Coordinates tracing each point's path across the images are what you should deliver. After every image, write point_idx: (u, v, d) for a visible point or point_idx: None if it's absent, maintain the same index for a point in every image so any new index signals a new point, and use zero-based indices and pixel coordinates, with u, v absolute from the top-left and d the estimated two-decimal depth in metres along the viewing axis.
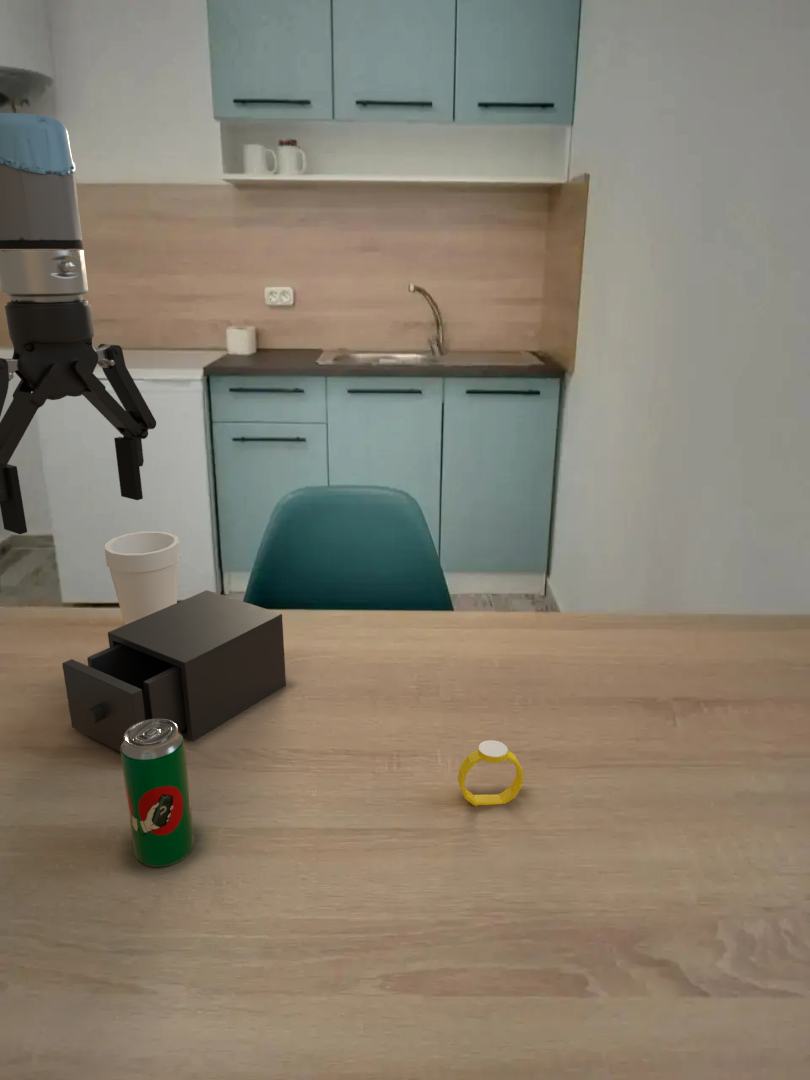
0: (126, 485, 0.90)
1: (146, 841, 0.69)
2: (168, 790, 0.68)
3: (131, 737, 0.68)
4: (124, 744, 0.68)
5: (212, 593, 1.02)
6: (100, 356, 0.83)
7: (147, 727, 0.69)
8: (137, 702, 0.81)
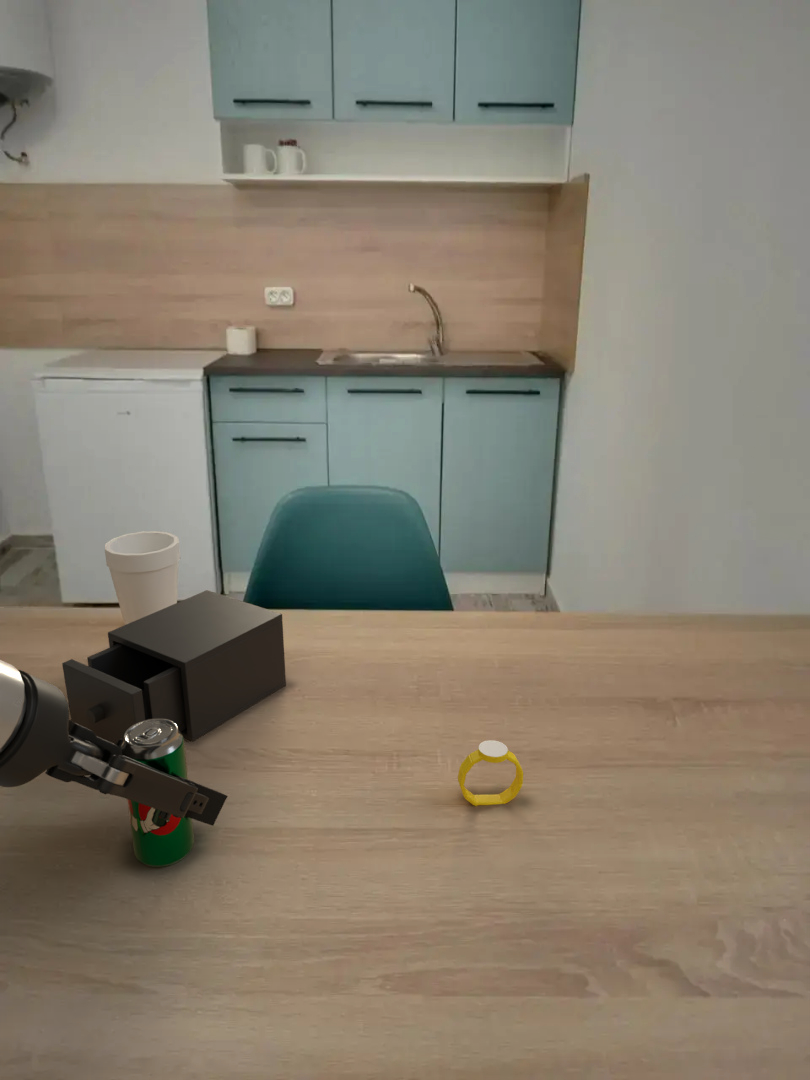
0: None
1: (146, 841, 0.69)
2: None
3: (131, 737, 0.68)
4: (124, 744, 0.68)
5: (212, 593, 1.02)
6: None
7: (147, 727, 0.69)
8: (137, 702, 0.81)
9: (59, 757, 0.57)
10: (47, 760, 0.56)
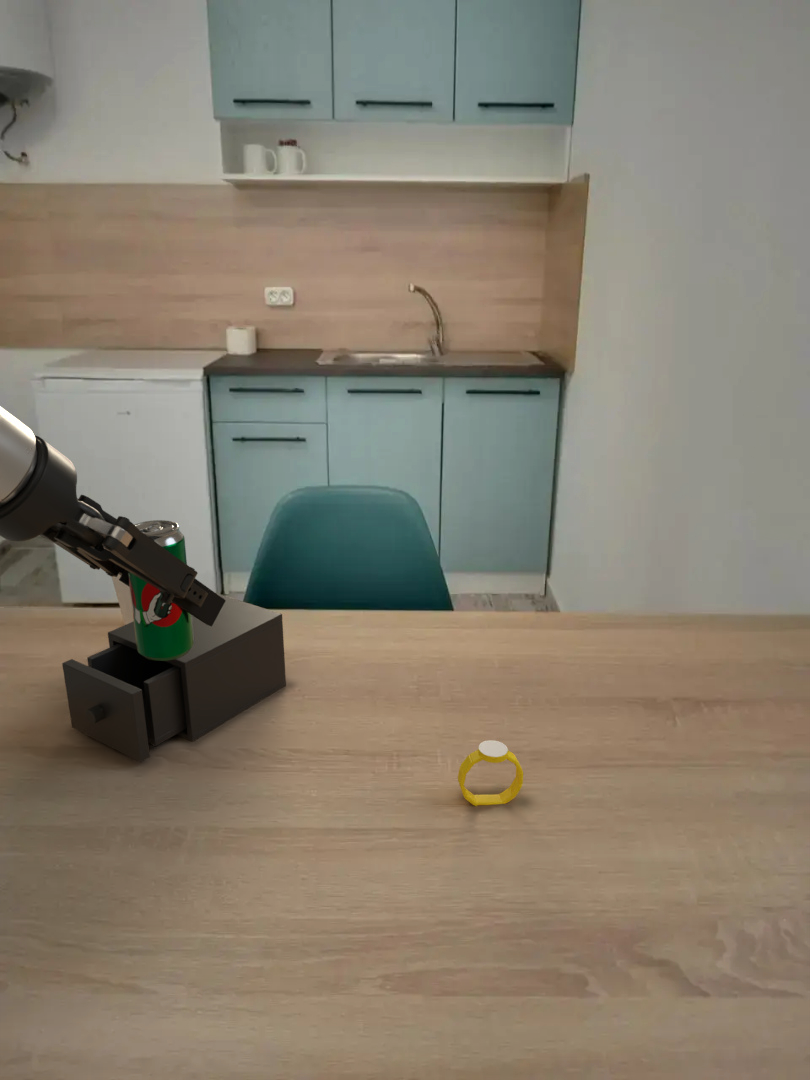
0: None
1: (148, 632, 0.73)
2: None
3: None
4: None
5: None
6: (99, 533, 0.62)
7: (150, 525, 0.73)
8: (137, 702, 0.81)
9: (67, 512, 0.61)
10: (56, 513, 0.60)
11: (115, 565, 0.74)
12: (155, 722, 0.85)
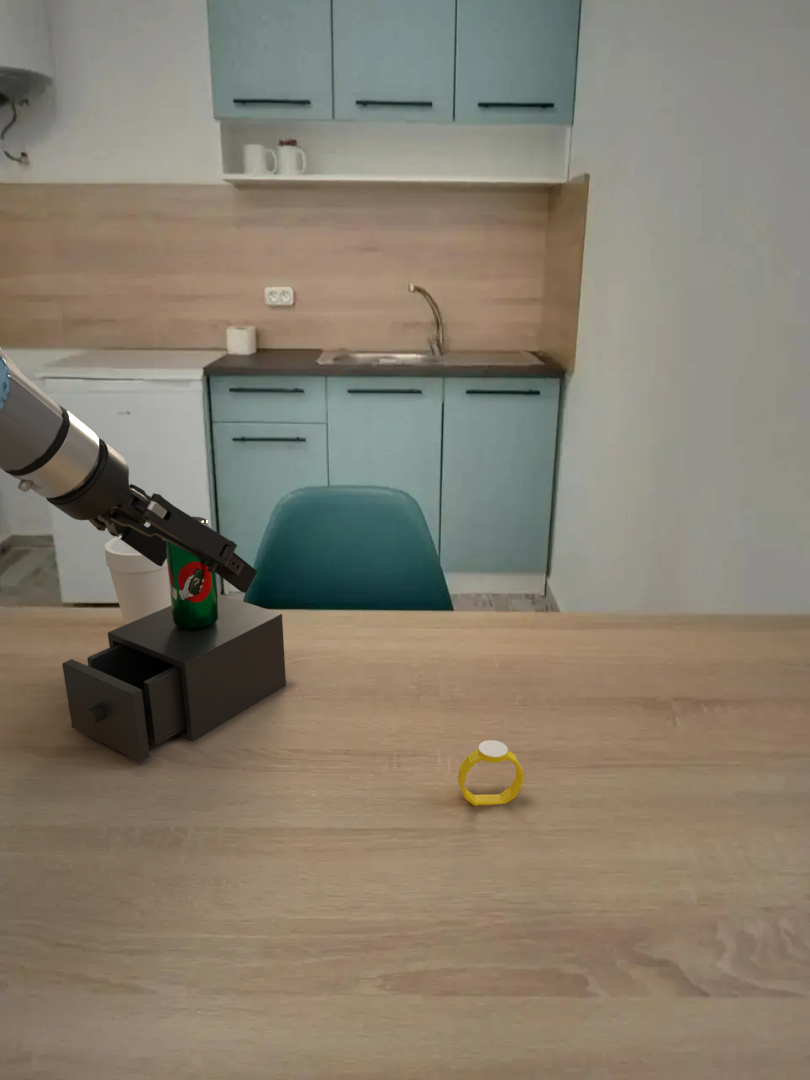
0: None
1: (183, 607, 0.90)
2: (200, 566, 0.89)
3: None
4: None
5: None
6: (142, 510, 0.79)
7: None
8: (137, 702, 0.81)
9: (122, 497, 0.78)
10: (114, 498, 0.77)
11: (119, 528, 0.91)
12: (155, 722, 0.85)
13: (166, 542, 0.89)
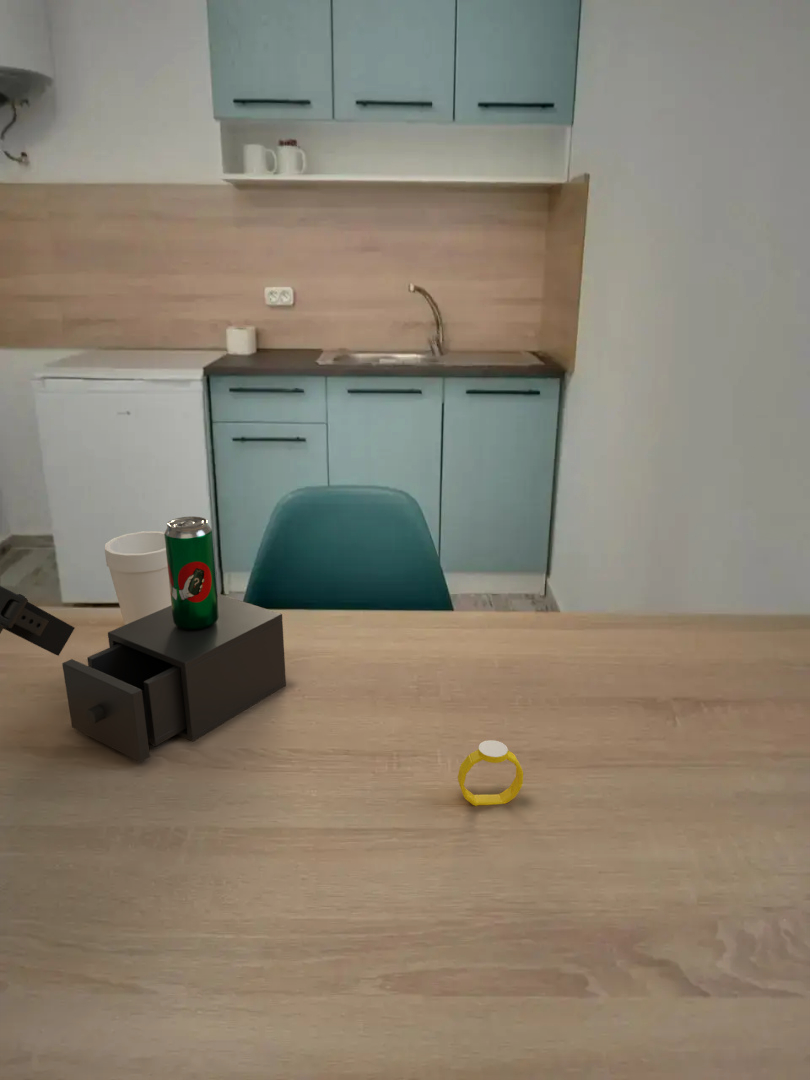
0: None
1: (183, 607, 0.90)
2: (201, 566, 0.89)
3: (172, 524, 0.89)
4: (167, 529, 0.89)
5: None
6: None
7: (184, 520, 0.90)
8: (137, 702, 0.81)
9: None
10: None
11: None
12: (155, 722, 0.85)
13: (166, 542, 0.89)
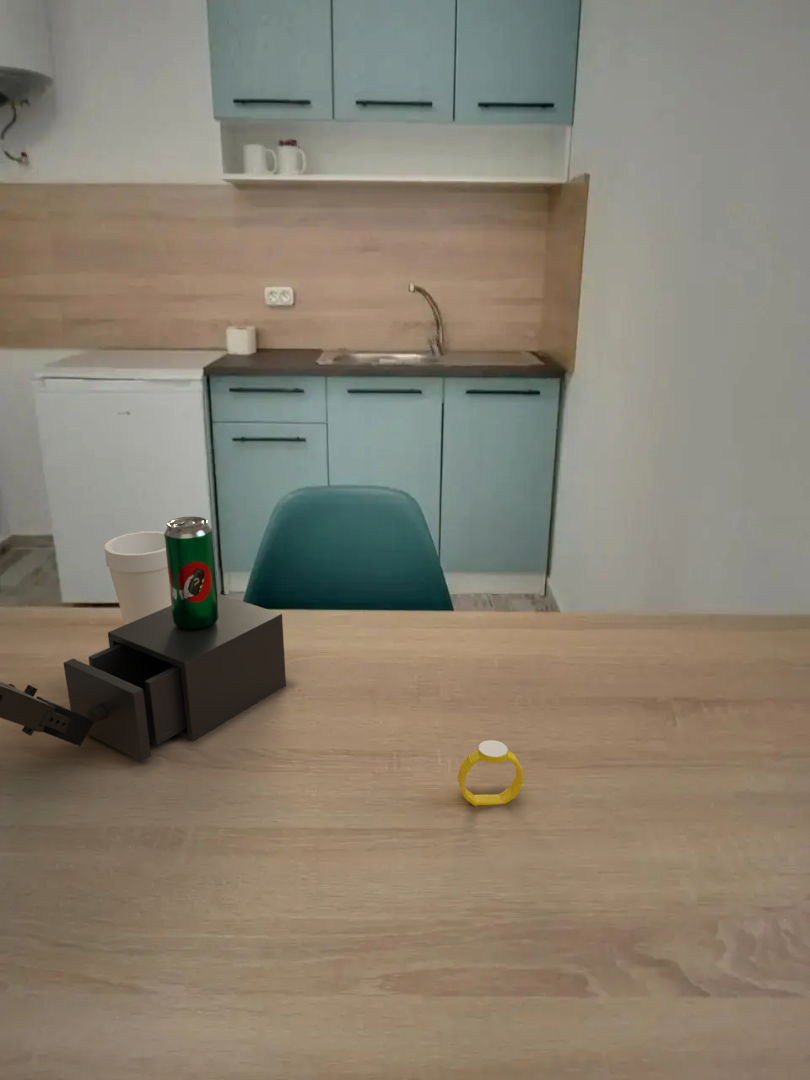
0: None
1: (183, 607, 0.90)
2: (201, 566, 0.89)
3: (172, 524, 0.89)
4: (167, 529, 0.89)
5: None
6: None
7: (184, 520, 0.90)
8: (138, 701, 0.81)
9: None
10: None
11: None
12: (156, 722, 0.85)
13: (166, 542, 0.89)
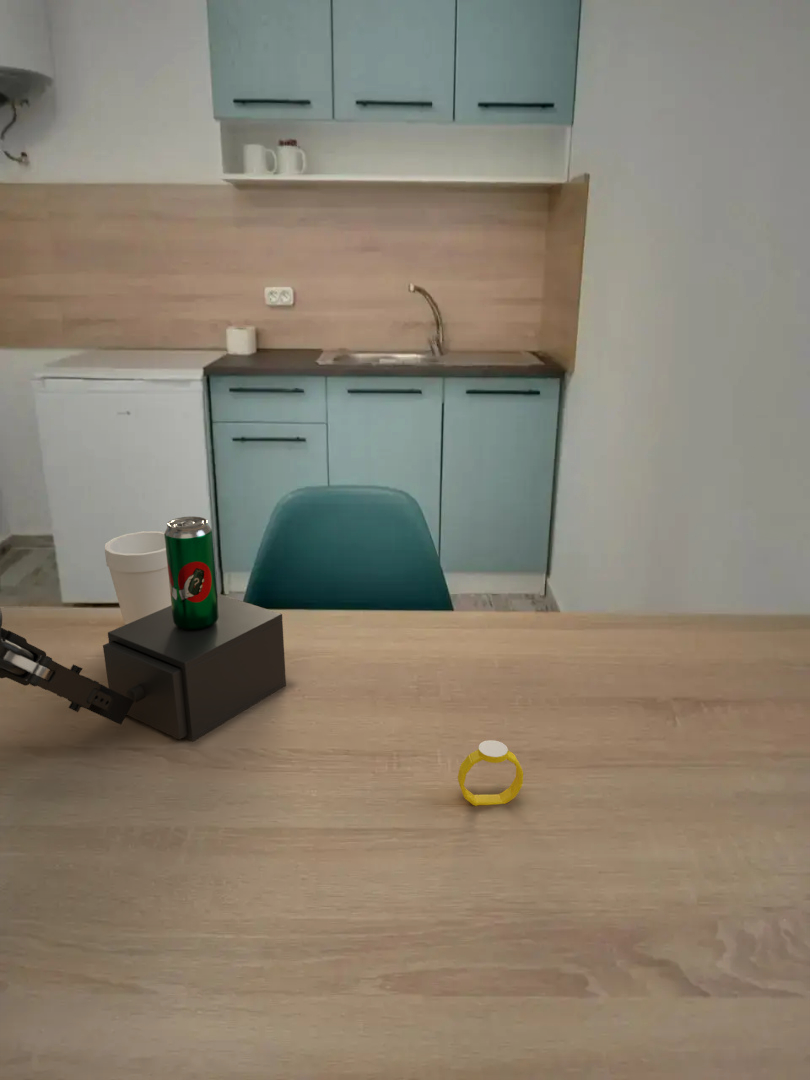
0: None
1: (183, 607, 0.90)
2: (201, 566, 0.89)
3: (172, 524, 0.89)
4: (167, 529, 0.89)
5: None
6: None
7: (184, 520, 0.90)
8: (177, 681, 0.85)
9: None
10: None
11: None
12: None
13: (166, 542, 0.89)
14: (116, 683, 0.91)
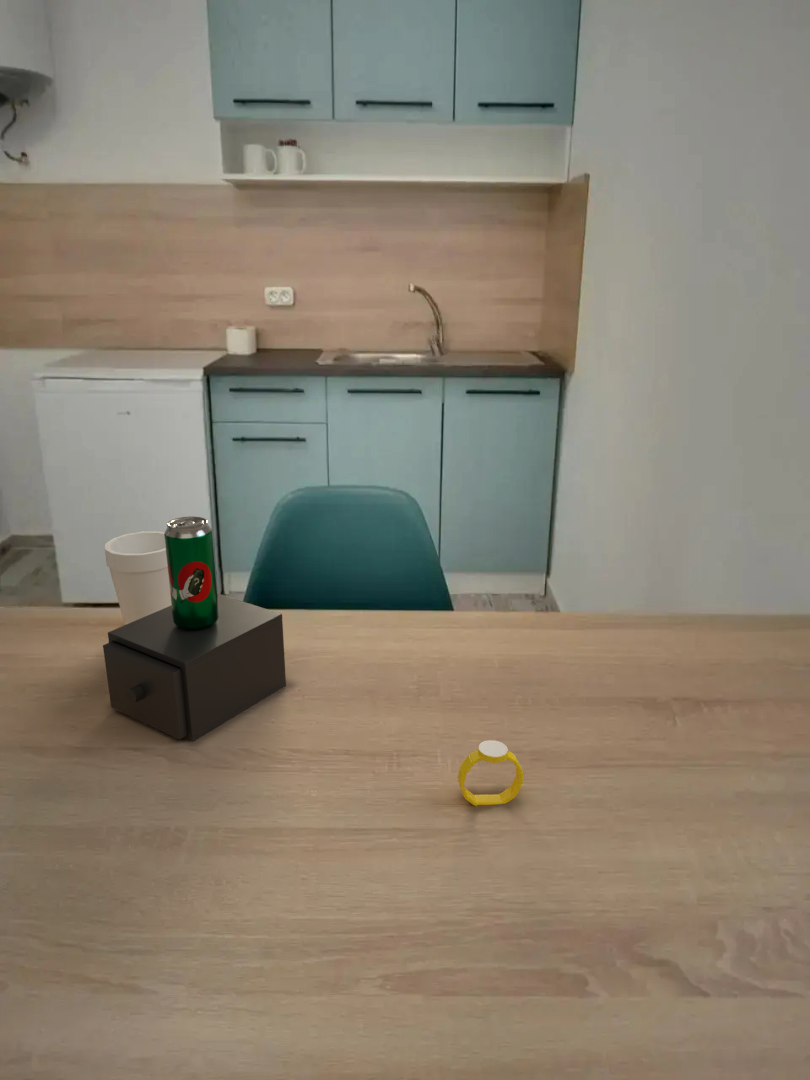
0: None
1: (183, 607, 0.90)
2: (201, 566, 0.89)
3: (172, 524, 0.89)
4: (167, 529, 0.89)
5: None
6: None
7: (184, 520, 0.90)
8: (177, 681, 0.85)
9: None
10: None
11: None
12: None
13: (166, 542, 0.89)
14: (116, 683, 0.91)
